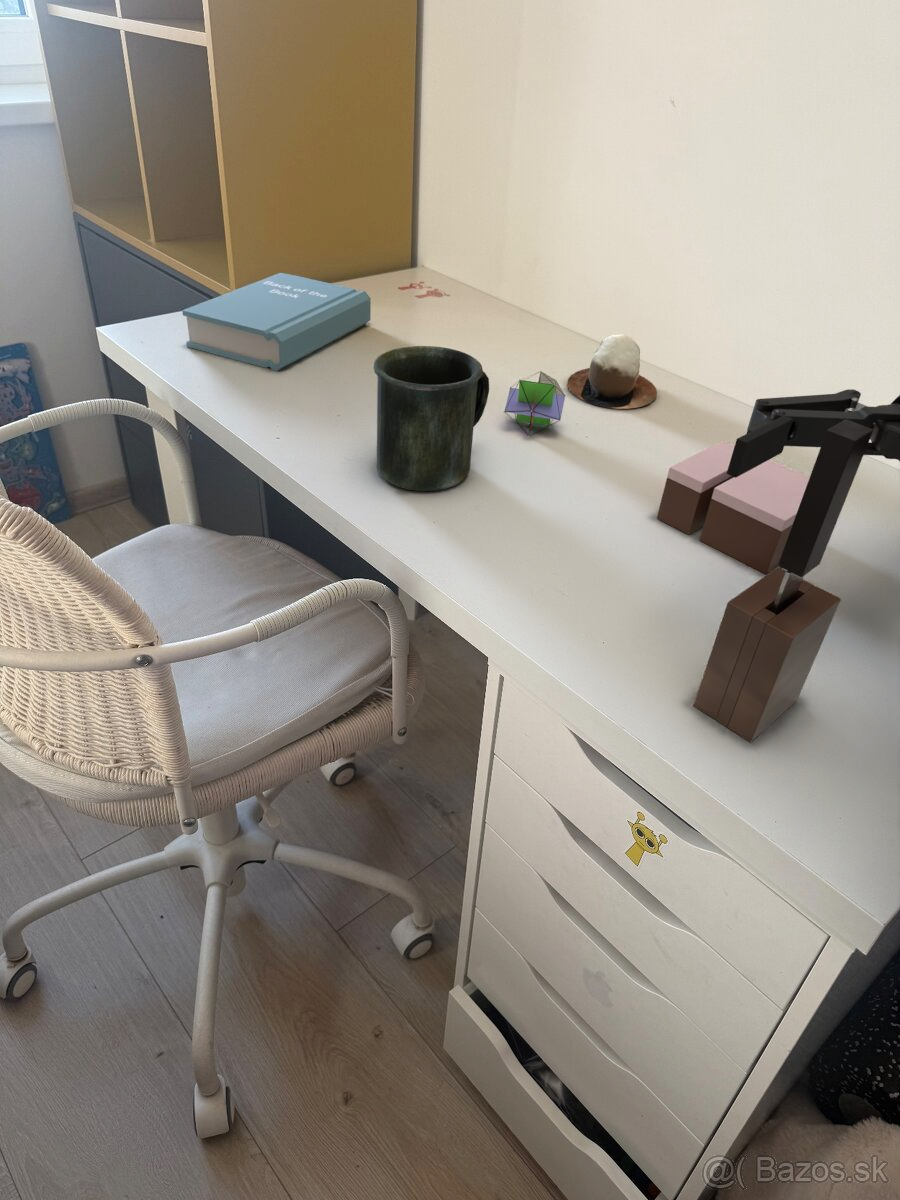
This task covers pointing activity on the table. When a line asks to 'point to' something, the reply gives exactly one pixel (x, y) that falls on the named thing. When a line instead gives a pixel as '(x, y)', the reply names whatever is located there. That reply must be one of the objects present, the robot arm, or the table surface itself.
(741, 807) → the table surface
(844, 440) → the knife
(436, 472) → the mug
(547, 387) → the geometric puzzle
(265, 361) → the book
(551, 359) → the table surface
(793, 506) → the cake
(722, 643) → the knife block
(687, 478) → the cake slice
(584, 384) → the hat
